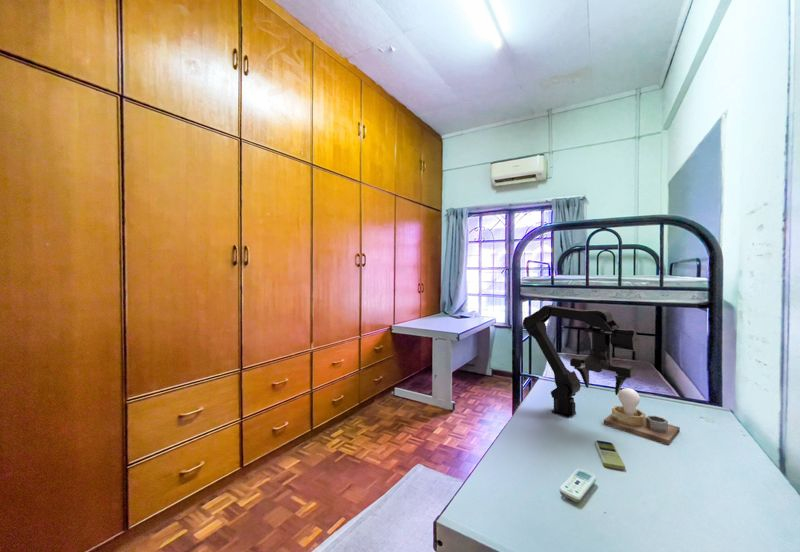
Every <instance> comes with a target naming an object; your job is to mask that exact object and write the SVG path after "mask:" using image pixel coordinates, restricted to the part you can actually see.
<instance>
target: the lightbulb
mask: <svg viewBox="0 0 800 552" xmlns="http://www.w3.org/2000/svg"><path fill="white" fill-rule="evenodd" d="M617 396H618V400H619V402H620V403H621V406H623V408H624V412H625V415H629V416H634V414H635V409H637V406H638V405H639V404H640V401H641V397H640V395H639V394H638V392H637V391H636V390H635V389H632V388H628V387H625V388H621V389H620V391H619V393H618V395H617Z"/></svg>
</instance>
